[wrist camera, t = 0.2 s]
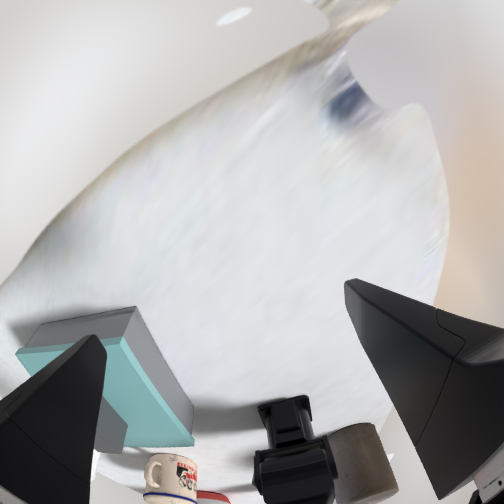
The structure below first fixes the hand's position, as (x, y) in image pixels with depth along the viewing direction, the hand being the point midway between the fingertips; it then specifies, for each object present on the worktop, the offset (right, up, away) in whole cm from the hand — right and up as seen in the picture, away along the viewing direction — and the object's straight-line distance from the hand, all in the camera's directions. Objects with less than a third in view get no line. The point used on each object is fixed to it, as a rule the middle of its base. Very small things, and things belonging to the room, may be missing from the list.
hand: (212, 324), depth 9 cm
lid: (-14, -13, +16) cm, 25 cm away
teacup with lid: (-13, -34, +29) cm, 47 cm away
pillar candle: (+18, -29, +30) cm, 45 cm away
